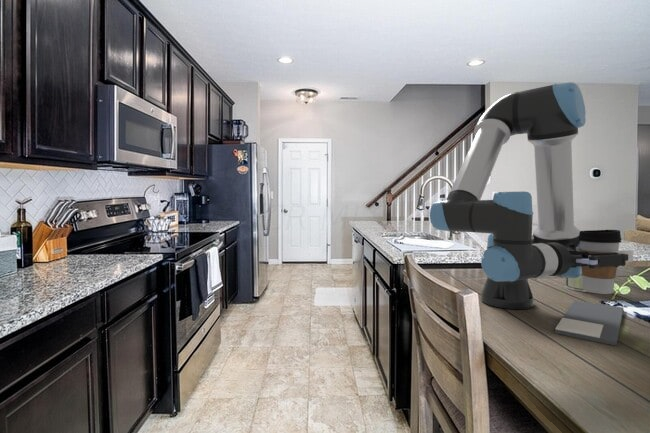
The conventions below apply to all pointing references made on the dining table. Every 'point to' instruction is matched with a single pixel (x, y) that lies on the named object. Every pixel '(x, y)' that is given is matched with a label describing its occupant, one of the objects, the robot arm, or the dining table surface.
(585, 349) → the dining table surface
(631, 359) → the dining table surface
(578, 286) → the coffee can
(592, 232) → the coffee cup
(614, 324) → the mat
